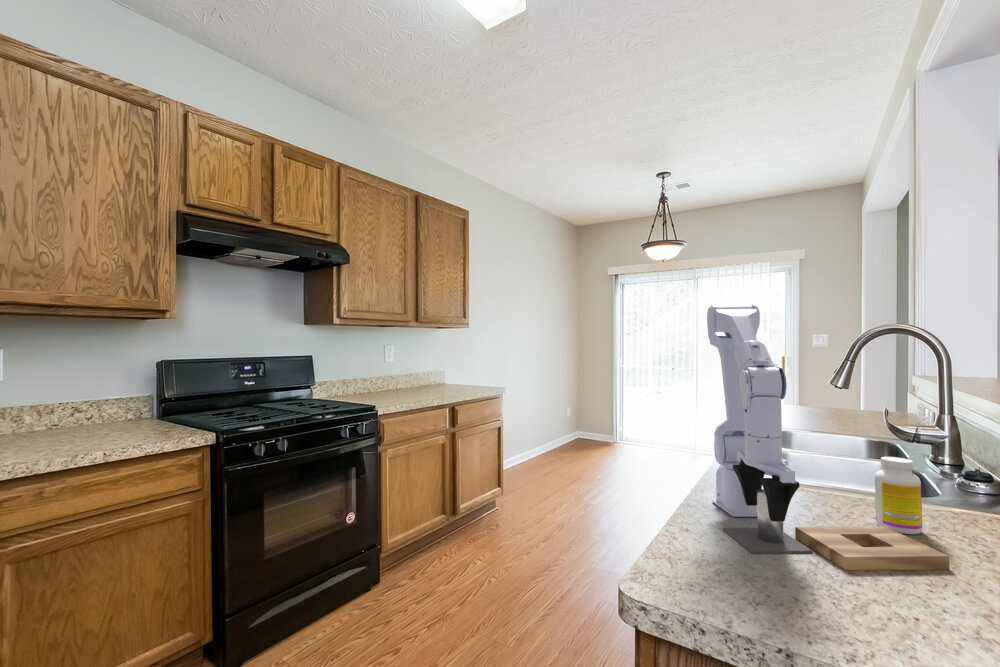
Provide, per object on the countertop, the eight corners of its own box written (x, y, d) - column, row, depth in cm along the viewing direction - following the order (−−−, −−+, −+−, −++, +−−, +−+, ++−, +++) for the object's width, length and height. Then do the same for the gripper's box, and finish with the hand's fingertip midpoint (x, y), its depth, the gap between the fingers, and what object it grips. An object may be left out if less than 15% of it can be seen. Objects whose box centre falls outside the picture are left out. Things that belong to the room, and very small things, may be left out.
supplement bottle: (931, 537, 84) (929, 464, 84) (889, 534, 85) (887, 462, 86) (907, 523, 91) (905, 456, 91) (868, 520, 92) (866, 454, 92)
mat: (722, 529, 88) (722, 527, 88) (776, 529, 88) (776, 527, 88) (752, 553, 78) (752, 551, 78) (812, 553, 78) (812, 550, 78)
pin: (753, 533, 85) (752, 488, 85) (777, 534, 84) (776, 489, 85) (763, 542, 81) (762, 495, 81) (788, 543, 80) (787, 496, 81)
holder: (795, 538, 84) (795, 526, 84) (884, 537, 84) (884, 526, 84) (845, 570, 72) (845, 556, 72) (949, 569, 72) (949, 555, 72)
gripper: (813, 443, 76) (814, 528, 76) (762, 427, 91) (763, 498, 90) (769, 443, 76) (771, 528, 76) (725, 427, 90) (726, 499, 90)
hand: (764, 512), depth 83 cm, fingers open, 7 cm apart
